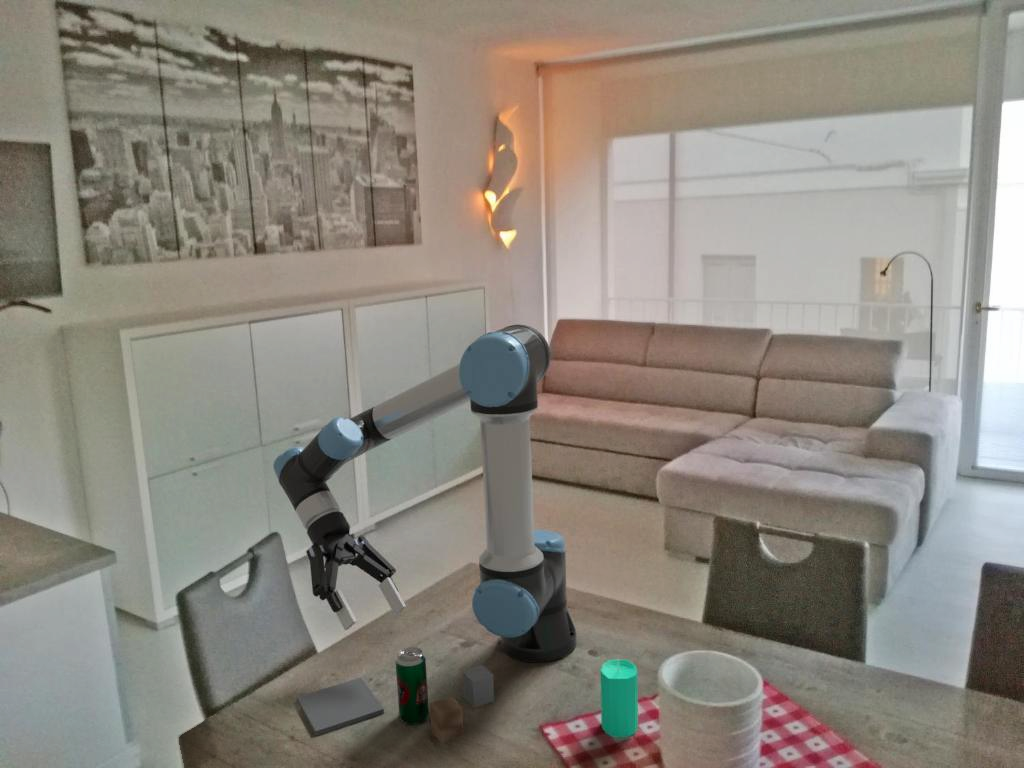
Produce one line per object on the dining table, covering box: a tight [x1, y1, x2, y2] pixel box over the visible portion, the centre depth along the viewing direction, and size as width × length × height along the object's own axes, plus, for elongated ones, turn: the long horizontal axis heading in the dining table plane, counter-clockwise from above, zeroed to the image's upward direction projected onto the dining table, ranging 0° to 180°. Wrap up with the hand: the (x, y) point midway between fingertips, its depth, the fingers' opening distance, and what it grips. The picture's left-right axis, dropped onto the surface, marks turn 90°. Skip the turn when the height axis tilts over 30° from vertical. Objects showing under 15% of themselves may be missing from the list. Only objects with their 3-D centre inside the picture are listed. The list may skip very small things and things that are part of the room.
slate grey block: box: [462, 664, 495, 709], centre depth 146 cm, size 4×4×5 cm
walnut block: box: [429, 695, 464, 744], centre depth 136 cm, size 4×4×5 cm
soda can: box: [394, 646, 430, 725], centre depth 140 cm, size 5×5×12 cm
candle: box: [600, 659, 639, 738], centre depth 135 cm, size 6×6×12 cm
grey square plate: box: [296, 676, 385, 736], centre depth 145 cm, size 12×12×1 cm
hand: (376, 618), depth 149 cm, fingers open, 13 cm apart
